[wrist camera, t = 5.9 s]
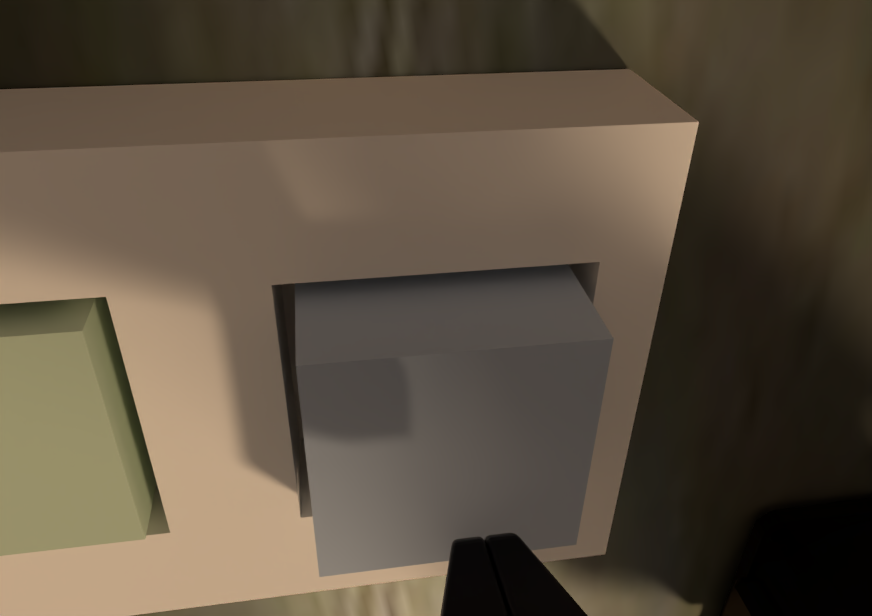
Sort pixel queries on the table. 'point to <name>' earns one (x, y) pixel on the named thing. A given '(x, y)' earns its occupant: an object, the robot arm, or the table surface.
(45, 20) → the table surface
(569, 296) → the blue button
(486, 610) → the robot arm
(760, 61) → the table surface
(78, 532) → the green button
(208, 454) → the button panel
